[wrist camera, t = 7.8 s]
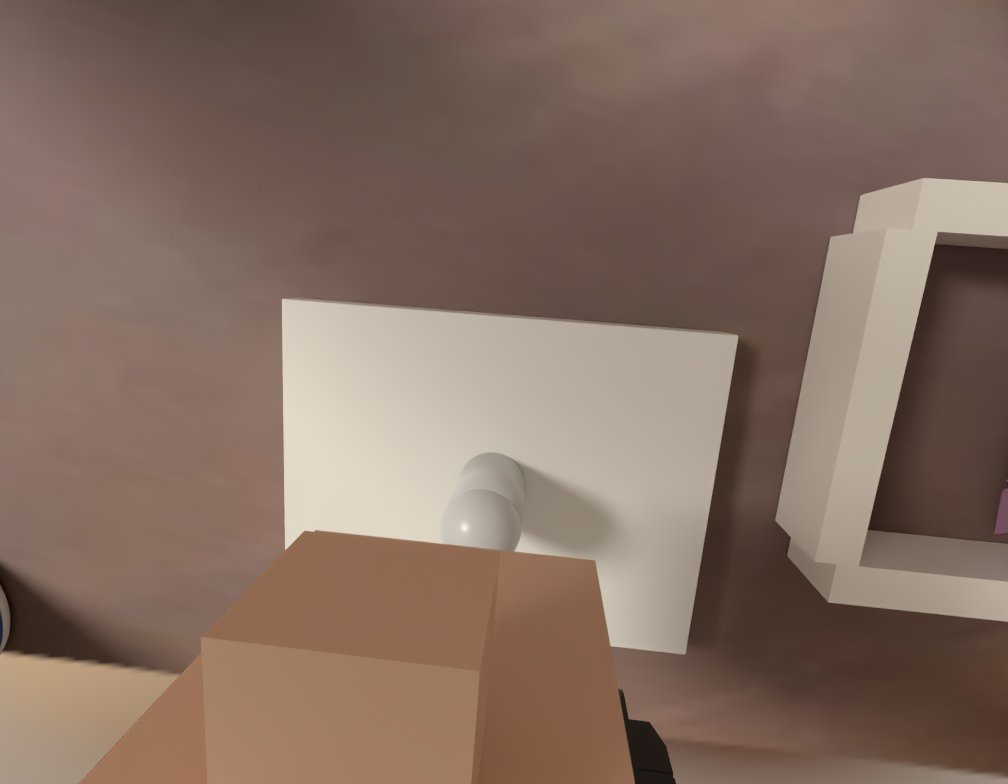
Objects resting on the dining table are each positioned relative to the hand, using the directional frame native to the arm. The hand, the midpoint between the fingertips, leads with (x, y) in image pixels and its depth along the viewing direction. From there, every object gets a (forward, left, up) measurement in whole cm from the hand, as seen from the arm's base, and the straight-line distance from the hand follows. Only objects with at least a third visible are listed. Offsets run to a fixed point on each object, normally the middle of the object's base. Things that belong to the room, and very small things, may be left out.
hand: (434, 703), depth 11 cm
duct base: (0, 0, -13) cm, 13 cm away
